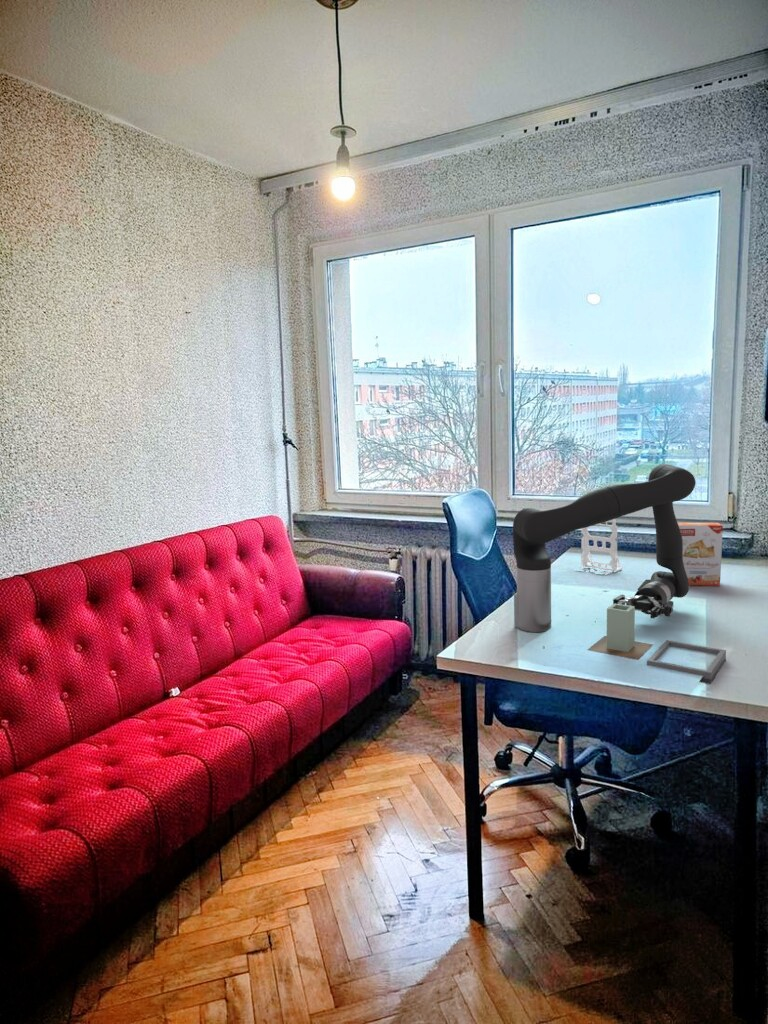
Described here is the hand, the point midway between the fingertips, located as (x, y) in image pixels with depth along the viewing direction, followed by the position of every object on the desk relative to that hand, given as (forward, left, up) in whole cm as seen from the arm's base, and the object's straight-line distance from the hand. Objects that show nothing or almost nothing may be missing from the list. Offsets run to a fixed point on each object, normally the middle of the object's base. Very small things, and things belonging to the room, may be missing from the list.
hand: (634, 612), depth 159 cm
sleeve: (0, -11, -6) cm, 12 cm away
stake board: (0, -11, -8) cm, 13 cm away
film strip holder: (-35, +70, -8) cm, 79 cm away
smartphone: (-11, +56, -8) cm, 58 cm away
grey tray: (+15, -11, -8) cm, 20 cm away
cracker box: (0, +66, -8) cm, 67 cm away
